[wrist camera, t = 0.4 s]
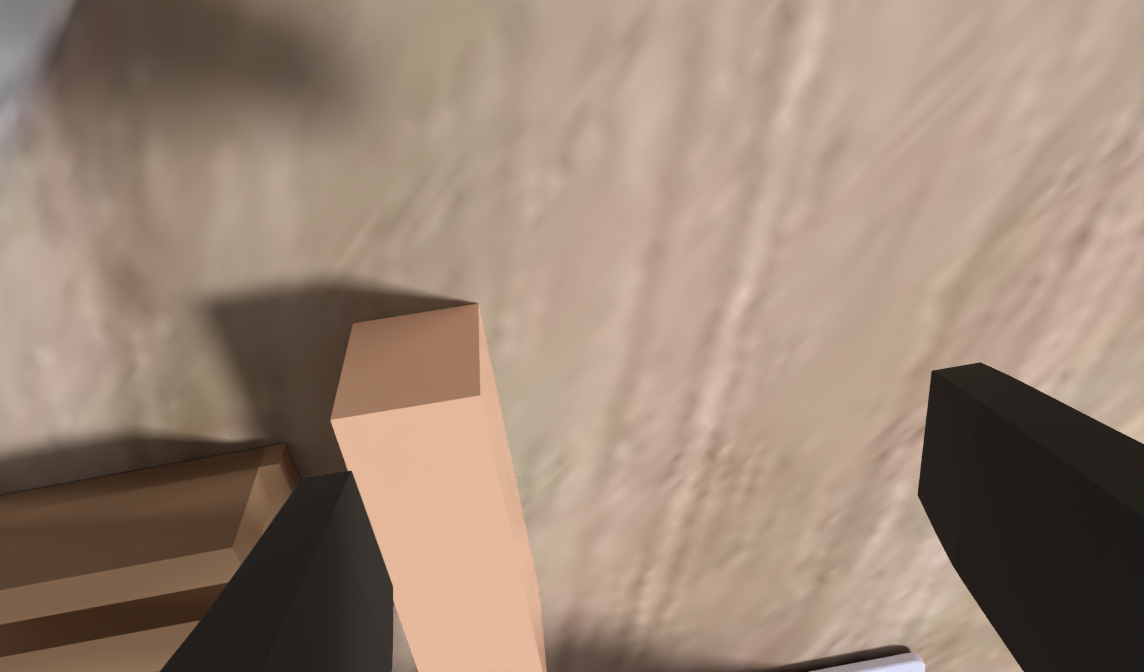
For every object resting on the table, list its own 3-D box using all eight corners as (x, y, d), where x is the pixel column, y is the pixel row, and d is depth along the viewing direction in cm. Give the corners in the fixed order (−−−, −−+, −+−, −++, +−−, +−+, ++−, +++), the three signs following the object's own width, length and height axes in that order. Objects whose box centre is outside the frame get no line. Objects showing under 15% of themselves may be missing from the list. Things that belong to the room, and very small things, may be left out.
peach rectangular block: (538, 585, 25) (549, 702, 22) (440, 601, 25) (436, 722, 22) (478, 299, 20) (480, 395, 17) (354, 319, 20) (329, 419, 16)
